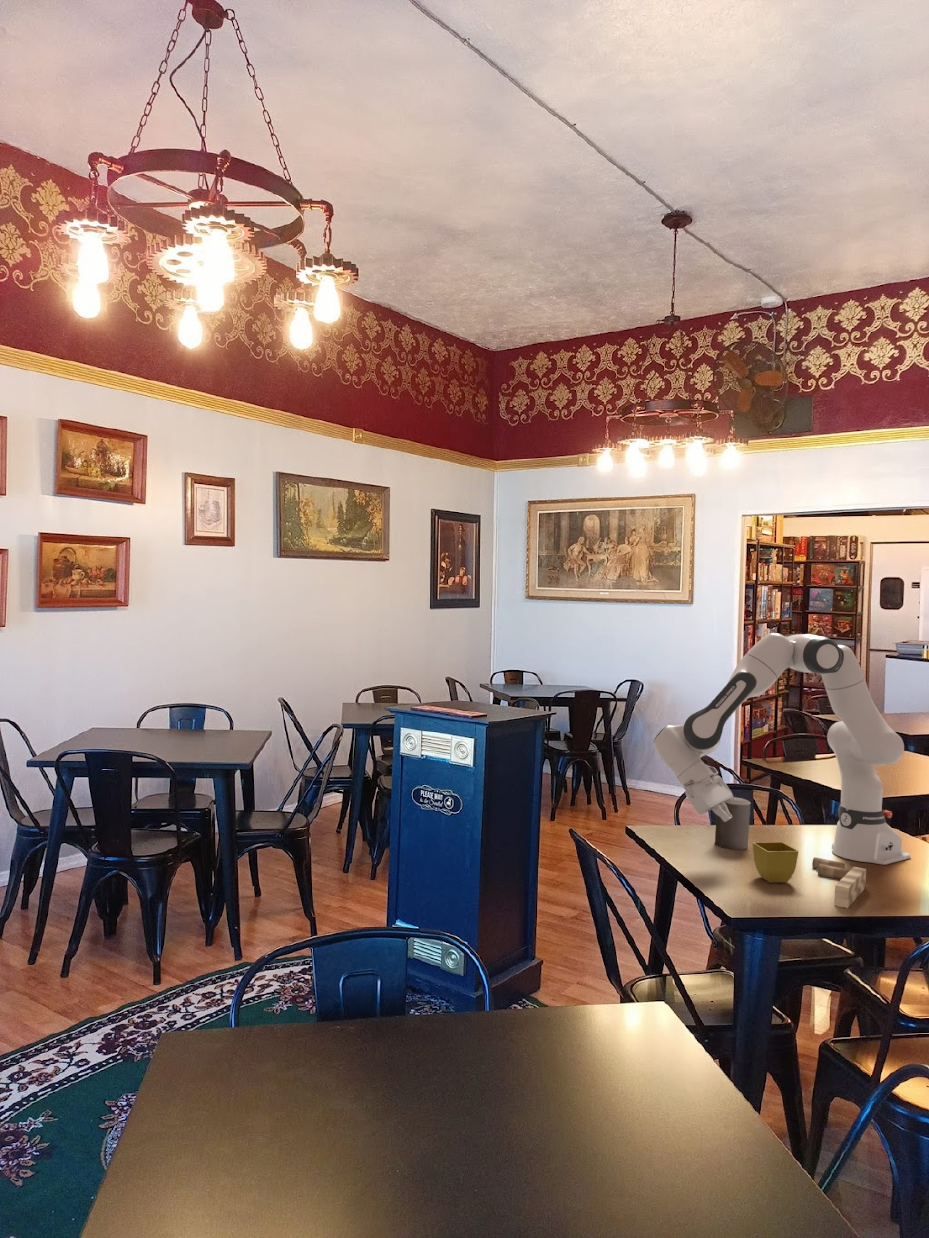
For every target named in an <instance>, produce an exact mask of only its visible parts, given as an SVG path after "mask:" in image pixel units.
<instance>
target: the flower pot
mask: <svg viewBox="0 0 929 1238" xmlns="http://www.w3.org/2000/svg"><path fill="white" fill-rule="evenodd" d="M752 853H753V861H754V865H755V868H756V870H757V873H758V874H759V876H760V877H761V878H762V879H763V880H765V881H767V882H768V883H772V884H773V883H788V882H789V881H790V879H791V878H792V876H793V875H794V873H795V872H796V871H795V870H796V867H797V861H798V856H799V850H798V849H796V848H794V847H793V846H790V845H789V844H787V843H785V842H783V841H766V842H765V841H761V842H760V841H758V842H757V841H755V842H753V841H752Z"/></svg>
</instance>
